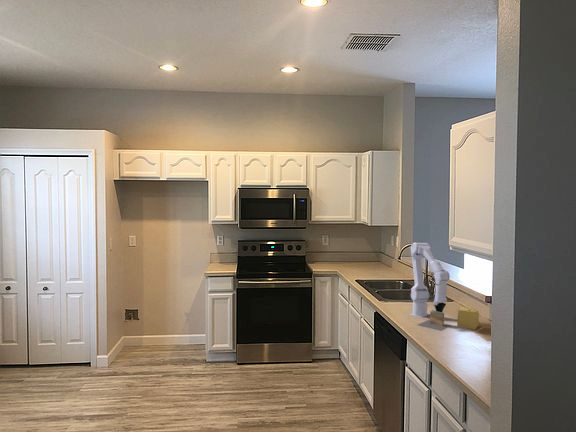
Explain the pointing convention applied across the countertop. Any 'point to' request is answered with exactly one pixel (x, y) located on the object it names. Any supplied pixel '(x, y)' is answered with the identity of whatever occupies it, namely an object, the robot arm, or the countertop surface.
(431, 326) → the mat
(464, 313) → the cheese
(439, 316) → the tile
